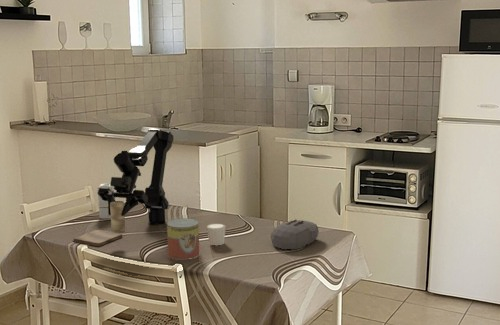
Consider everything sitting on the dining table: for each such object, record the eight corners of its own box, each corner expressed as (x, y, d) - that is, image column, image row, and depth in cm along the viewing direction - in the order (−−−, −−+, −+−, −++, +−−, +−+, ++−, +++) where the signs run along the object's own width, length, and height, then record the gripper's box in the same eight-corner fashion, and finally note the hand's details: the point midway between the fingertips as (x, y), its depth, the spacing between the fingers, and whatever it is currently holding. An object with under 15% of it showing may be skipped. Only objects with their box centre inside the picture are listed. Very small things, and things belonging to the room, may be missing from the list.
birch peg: (125, 228, 235) (123, 200, 233) (125, 232, 230) (124, 203, 228) (111, 229, 234) (109, 201, 232) (111, 233, 229) (110, 204, 227)
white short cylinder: (228, 241, 238) (228, 224, 236) (221, 247, 231) (221, 229, 230) (211, 240, 240) (211, 222, 239) (204, 245, 233) (204, 227, 232)
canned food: (174, 262, 216) (173, 228, 214) (163, 252, 226) (162, 220, 224) (204, 256, 221) (203, 224, 219) (192, 247, 231) (191, 216, 229)
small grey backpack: (290, 233, 248) (262, 247, 232) (290, 213, 246) (262, 225, 230) (324, 240, 239) (297, 254, 223) (324, 219, 238) (297, 232, 221)
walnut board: (97, 232, 251) (97, 229, 250) (122, 237, 244) (122, 234, 244) (73, 241, 240) (73, 238, 239) (99, 246, 233) (98, 243, 233)
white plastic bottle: (112, 218, 270) (111, 186, 268) (99, 218, 270) (97, 186, 268) (115, 215, 276) (114, 183, 273) (102, 215, 276) (100, 183, 273)
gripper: (98, 166, 234) (84, 202, 226) (143, 169, 229) (130, 205, 220) (110, 182, 243) (96, 217, 235) (153, 185, 237) (141, 221, 229)
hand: (115, 215), depth 230 cm, fingers closed on birch peg, 5 cm apart
